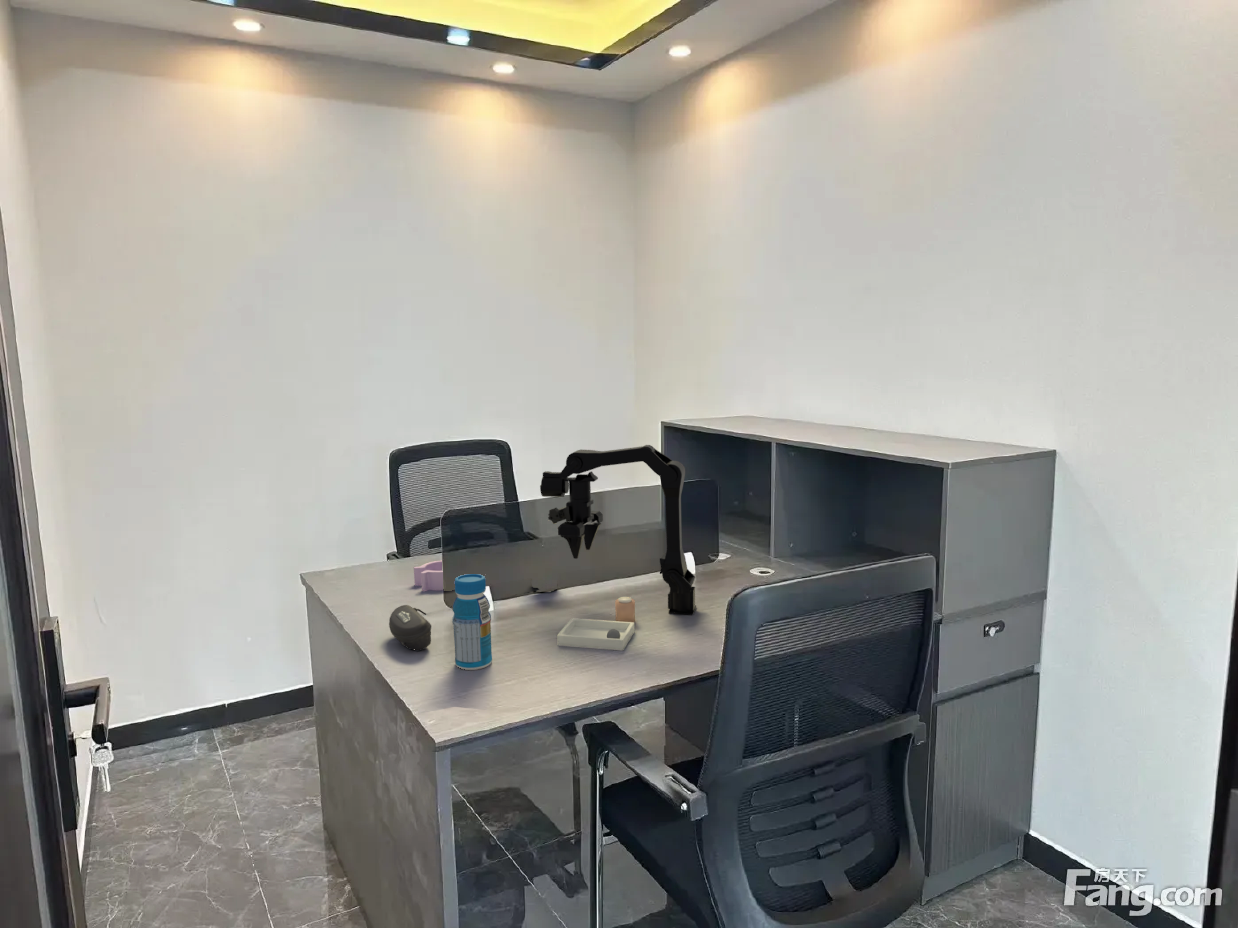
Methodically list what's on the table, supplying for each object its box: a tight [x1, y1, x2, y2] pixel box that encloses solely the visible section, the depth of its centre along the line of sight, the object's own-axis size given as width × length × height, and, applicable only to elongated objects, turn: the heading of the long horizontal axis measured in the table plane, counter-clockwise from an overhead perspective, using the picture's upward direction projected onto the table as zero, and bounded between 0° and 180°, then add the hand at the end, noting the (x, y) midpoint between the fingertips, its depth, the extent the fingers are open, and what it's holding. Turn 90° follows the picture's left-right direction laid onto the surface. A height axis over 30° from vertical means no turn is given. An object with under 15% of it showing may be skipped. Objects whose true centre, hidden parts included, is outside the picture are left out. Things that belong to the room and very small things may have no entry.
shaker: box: [614, 596, 636, 624], centre depth 200 cm, size 5×5×6 cm
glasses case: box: [388, 604, 432, 651], centre depth 188 cm, size 18×10×8 cm, turn 31°
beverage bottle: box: [451, 574, 493, 671], centre depth 174 cm, size 8×8×20 cm
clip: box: [413, 559, 444, 592], centre depth 232 cm, size 20×12×7 cm, turn 122°
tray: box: [556, 617, 635, 651], centre depth 189 cm, size 16×12×2 cm
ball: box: [607, 629, 620, 639], centre depth 185 cm, size 3×3×3 cm
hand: (582, 553), depth 212 cm, fingers open, 9 cm apart
